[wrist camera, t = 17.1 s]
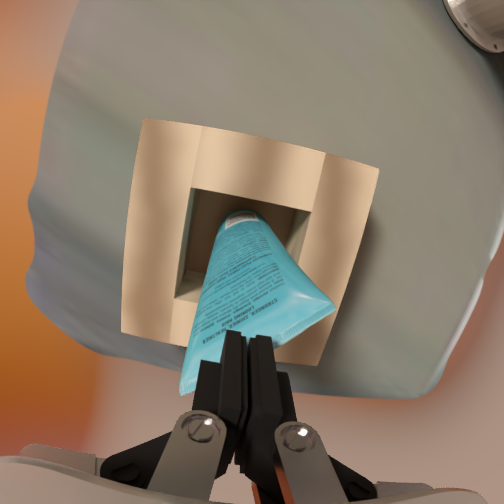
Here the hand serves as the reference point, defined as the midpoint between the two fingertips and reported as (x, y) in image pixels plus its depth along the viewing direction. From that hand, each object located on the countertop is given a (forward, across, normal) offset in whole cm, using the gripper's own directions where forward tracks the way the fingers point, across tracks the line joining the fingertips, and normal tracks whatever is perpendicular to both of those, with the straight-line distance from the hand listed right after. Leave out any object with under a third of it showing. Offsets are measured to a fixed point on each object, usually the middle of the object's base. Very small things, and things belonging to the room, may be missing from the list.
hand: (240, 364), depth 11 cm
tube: (+20, 0, 0) cm, 20 cm away
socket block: (+21, 0, 0) cm, 21 cm away
